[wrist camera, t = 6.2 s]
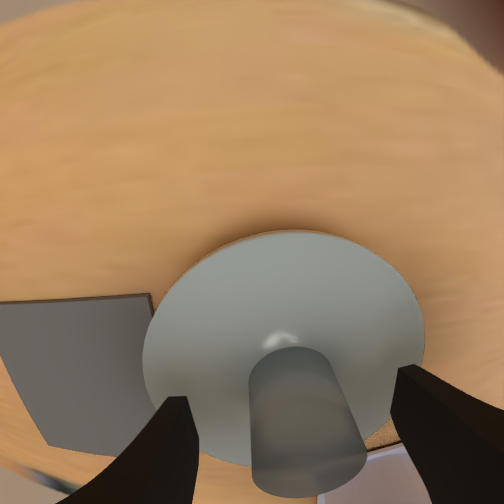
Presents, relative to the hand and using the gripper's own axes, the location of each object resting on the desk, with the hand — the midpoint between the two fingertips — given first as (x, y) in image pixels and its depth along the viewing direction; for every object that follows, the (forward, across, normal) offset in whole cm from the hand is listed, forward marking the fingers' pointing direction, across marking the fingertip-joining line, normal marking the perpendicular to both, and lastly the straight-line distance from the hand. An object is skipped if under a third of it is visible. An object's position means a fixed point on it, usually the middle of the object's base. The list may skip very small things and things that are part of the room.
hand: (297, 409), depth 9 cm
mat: (+5, +11, +3) cm, 13 cm away
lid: (+2, 0, 0) cm, 2 cm away
